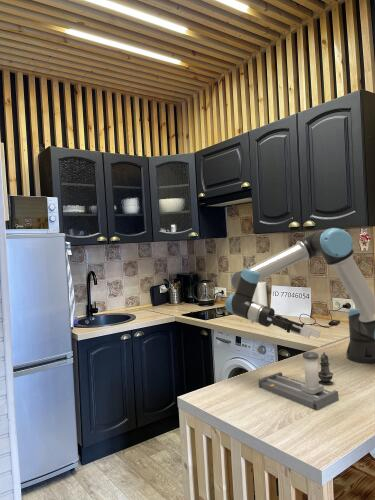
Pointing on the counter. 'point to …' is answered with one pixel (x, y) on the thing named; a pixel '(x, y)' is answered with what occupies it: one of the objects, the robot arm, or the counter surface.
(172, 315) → the counter surface
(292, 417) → the counter surface
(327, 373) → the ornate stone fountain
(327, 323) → the counter surface
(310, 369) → the fader
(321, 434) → the counter surface
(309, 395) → the console
